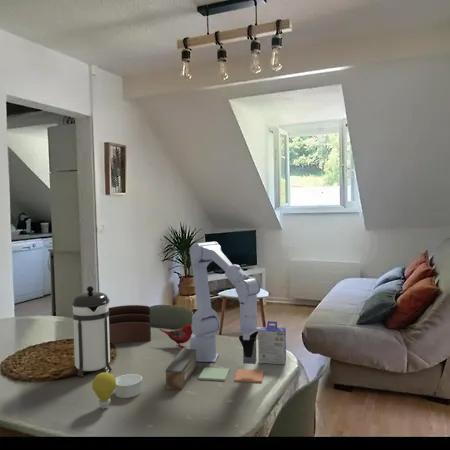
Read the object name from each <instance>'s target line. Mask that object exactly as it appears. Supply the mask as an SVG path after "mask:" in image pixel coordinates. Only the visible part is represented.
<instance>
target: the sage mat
mask: <svg viewBox="0 0 450 450" xmlns="http://www.w3.org/2000/svg"><path fill="white" fill-rule="evenodd" d="M229 372H230V368H223V367H221V368H219V367H203V369H202V371H201V372H200V374H199V376H198V377H197V378H198V380H202V381H203V380H204V381H221V382H222V381H223V382H225V381H226V380H227V378H228V375H229Z"/></svg>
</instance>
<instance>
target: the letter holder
mask: <svg viewBox="0 0 450 450" xmlns="http://www.w3.org/2000/svg"><path fill="white" fill-rule="evenodd" d="M108 309H109V341H110V343H111V344H123V342H126V343H138V342H139V343H140V342H151V340H152V338H151V337H152V331H151V328H152V324H151V308H150V306H149V305H143V304H141V305H140V304H139V305H138V304H131V305H130V304H125V305H118V306H117V305H116V306H112V307H111V306H110V307H108Z"/></svg>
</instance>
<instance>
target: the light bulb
mask: <svg viewBox="0 0 450 450" xmlns="http://www.w3.org/2000/svg"><path fill="white" fill-rule="evenodd" d="M115 378H116V376H114V375H113V374H112V373H110V372H106V371H105V372H100V373H98V374H97V375H95V377H94V378H93V380H92V383H91V387H92V390H93V392H94V393H95V395H96V397H97V398H98V399H99V400H98V405H100V409H102V408H106V409H108V408H110V404H111V396H112V395H113V393H114V392H115V387H116V379H115ZM107 407H108V408H107Z"/></svg>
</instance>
